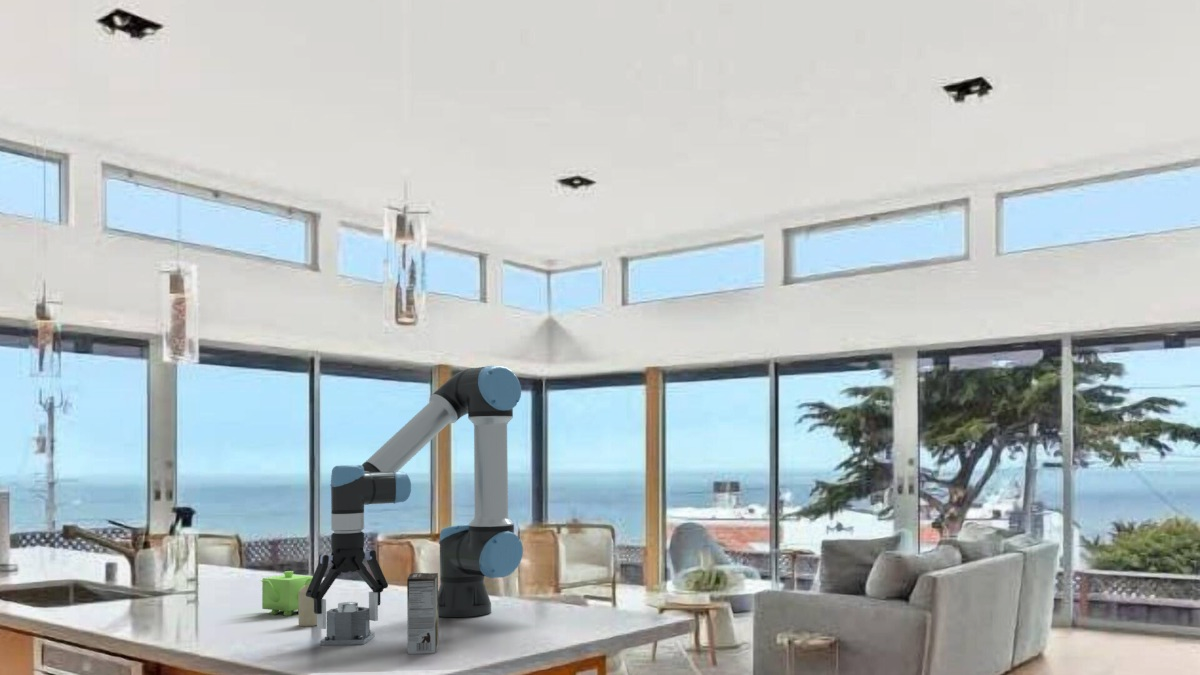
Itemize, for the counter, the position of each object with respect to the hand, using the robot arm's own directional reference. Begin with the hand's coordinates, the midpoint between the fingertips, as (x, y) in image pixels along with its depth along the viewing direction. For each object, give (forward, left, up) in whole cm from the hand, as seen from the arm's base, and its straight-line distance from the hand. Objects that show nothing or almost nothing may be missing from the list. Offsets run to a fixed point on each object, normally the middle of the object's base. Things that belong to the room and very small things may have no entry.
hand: (347, 624), depth 251 cm
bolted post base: (0, 0, -4) cm, 4 cm away
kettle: (+28, -44, -4) cm, 52 cm away
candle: (+16, -24, -4) cm, 29 cm away
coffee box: (-20, +13, -4) cm, 24 cm away
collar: (0, 0, -3) cm, 3 cm away
